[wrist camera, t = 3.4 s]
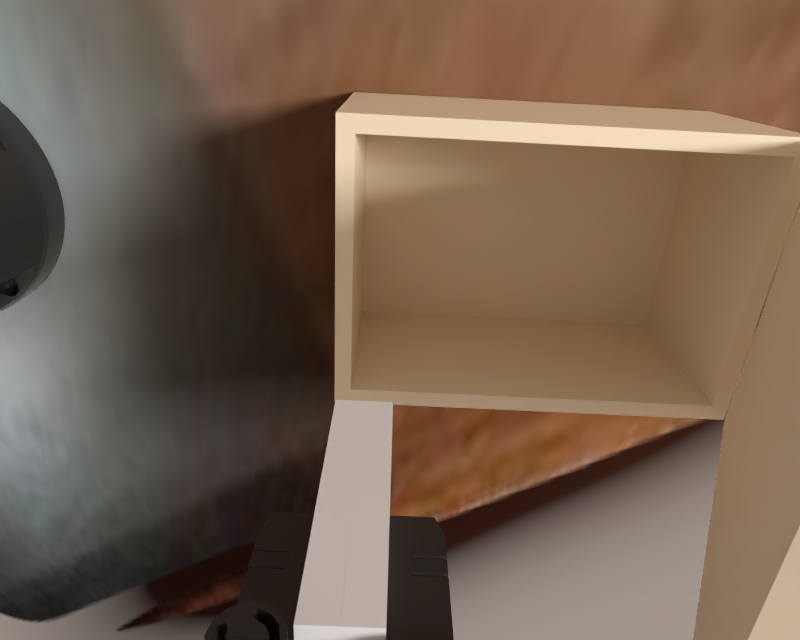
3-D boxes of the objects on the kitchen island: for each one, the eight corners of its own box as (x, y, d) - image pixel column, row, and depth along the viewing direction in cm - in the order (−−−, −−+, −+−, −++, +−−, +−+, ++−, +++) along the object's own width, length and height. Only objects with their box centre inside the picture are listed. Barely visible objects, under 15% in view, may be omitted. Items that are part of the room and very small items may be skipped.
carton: (350, 318, 39) (334, 401, 30) (354, 92, 33) (335, 112, 24) (650, 332, 39) (723, 419, 30) (708, 111, 33) (820, 138, 24)
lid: (667, 815, 14) (708, 839, 14) (908, 287, 8) (989, 303, 8) (724, 420, 30) (744, 426, 30) (822, 138, 24) (848, 141, 24)
